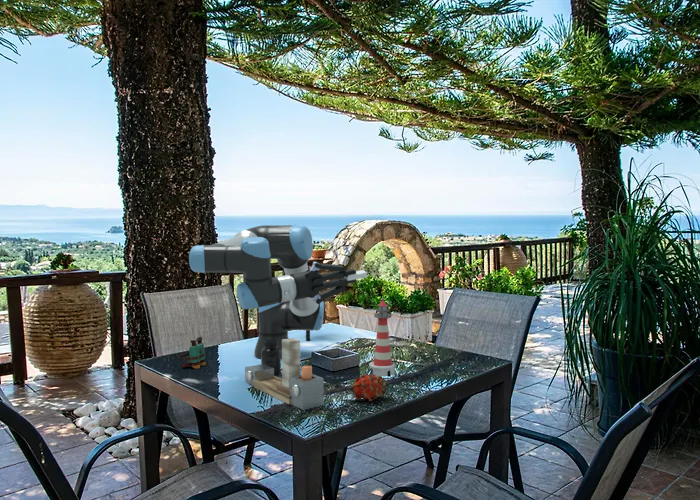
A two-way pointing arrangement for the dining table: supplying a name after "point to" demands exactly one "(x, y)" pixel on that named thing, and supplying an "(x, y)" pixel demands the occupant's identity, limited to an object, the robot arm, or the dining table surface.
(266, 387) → the rail
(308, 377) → the button
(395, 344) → the dining table surface
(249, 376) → the cabinet
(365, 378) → the dragon fruit
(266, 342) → the supplement bottle
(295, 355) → the tall cream pillar
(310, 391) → the cabinet
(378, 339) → the miniature lighthouse
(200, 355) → the binoculars
